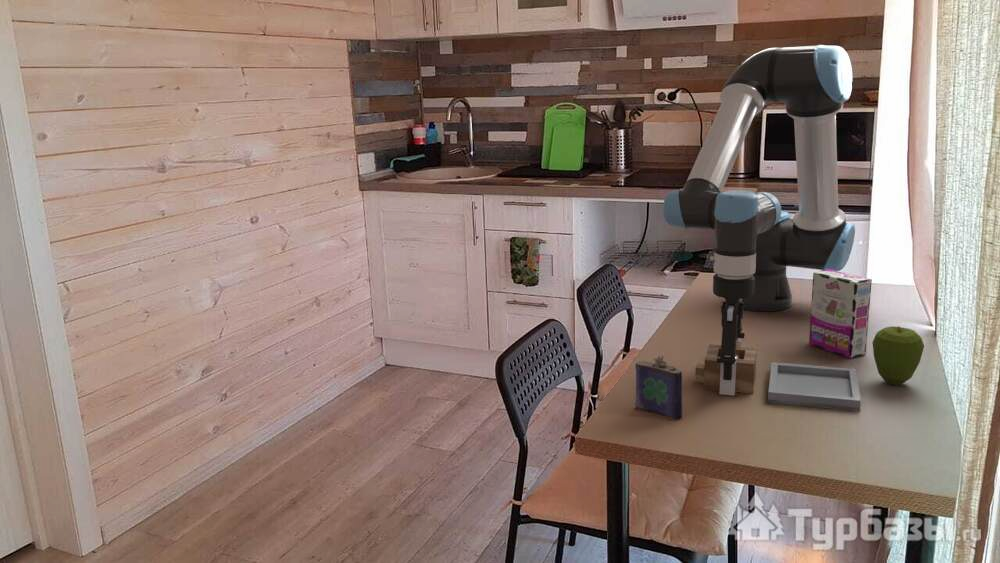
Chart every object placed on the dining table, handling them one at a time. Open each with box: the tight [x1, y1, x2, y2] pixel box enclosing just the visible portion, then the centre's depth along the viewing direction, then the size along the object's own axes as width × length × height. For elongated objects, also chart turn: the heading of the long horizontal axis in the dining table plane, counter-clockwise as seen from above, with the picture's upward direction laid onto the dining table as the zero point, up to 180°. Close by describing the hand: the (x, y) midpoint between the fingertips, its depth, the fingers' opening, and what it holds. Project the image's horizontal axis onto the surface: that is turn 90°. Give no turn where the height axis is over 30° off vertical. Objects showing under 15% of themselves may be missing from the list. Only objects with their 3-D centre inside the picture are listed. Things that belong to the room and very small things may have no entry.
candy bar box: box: [808, 269, 873, 359], centre depth 167 cm, size 11×5×16 cm, turn 27°
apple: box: [872, 325, 925, 386], centre depth 149 cm, size 9×8×12 cm
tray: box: [767, 361, 862, 412], centre depth 149 cm, size 15×15×2 cm
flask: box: [635, 355, 683, 421], centre depth 142 cm, size 9×3×11 cm, turn 48°
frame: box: [694, 343, 758, 395], centre depth 154 cm, size 9×11×6 cm
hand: (729, 381), depth 155 cm, fingers open, 12 cm apart
